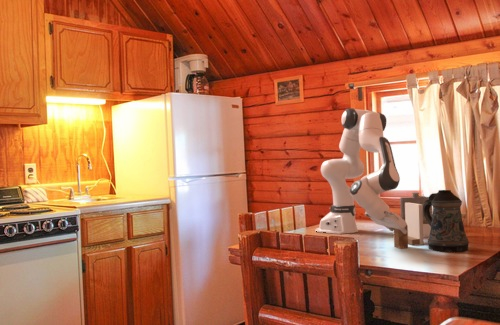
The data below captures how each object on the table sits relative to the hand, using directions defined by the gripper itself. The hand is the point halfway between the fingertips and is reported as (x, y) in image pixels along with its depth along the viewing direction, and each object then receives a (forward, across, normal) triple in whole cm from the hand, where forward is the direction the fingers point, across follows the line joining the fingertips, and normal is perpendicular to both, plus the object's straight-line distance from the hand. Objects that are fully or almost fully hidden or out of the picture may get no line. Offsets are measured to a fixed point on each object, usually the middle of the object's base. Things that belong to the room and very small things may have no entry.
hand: (399, 231), depth 219 cm
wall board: (+13, +7, -3) cm, 15 cm away
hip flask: (+30, +36, -19) cm, 50 cm away
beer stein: (+16, -10, -6) cm, 20 cm away
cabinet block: (+6, 0, +4) cm, 7 cm away
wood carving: (+27, +20, -16) cm, 37 cm away
